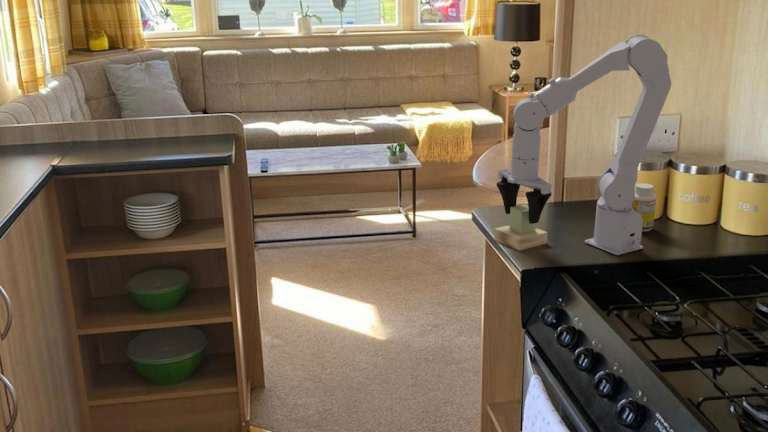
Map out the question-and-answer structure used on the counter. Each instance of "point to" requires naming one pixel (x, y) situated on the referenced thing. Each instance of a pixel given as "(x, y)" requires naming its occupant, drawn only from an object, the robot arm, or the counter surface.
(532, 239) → the birch base
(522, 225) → the sage block
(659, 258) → the counter surface
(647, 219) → the supplement bottle
